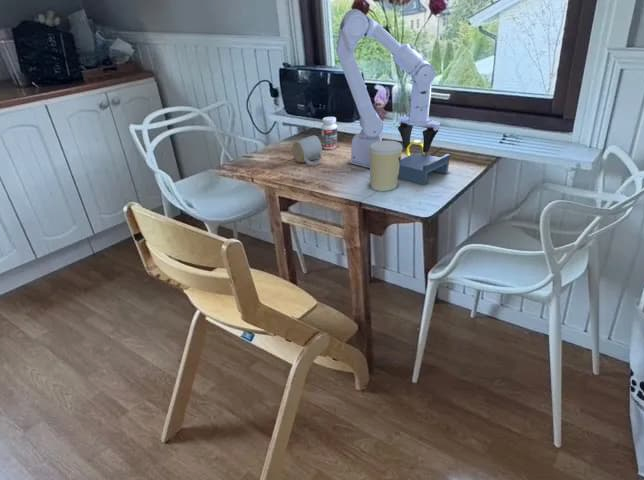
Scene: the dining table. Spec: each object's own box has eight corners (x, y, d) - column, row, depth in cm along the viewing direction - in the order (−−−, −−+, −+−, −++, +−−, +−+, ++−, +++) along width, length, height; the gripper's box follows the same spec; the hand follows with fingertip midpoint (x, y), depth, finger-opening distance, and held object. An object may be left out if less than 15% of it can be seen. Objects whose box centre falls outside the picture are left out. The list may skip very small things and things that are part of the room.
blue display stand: (391, 175, 161) (392, 158, 158) (415, 164, 167) (416, 147, 163) (424, 184, 153) (426, 166, 150) (447, 172, 159) (450, 154, 156)
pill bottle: (326, 150, 186) (325, 121, 180) (318, 146, 190) (318, 118, 184) (340, 147, 187) (340, 118, 181) (332, 143, 191) (332, 115, 185)
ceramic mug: (291, 160, 181) (290, 138, 176) (311, 154, 183) (310, 132, 178) (307, 168, 173) (307, 145, 168) (327, 163, 176) (327, 140, 171)
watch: (404, 159, 171) (406, 141, 168) (408, 156, 173) (410, 138, 169) (421, 162, 168) (423, 143, 164) (425, 159, 169) (427, 140, 166)
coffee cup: (405, 187, 153) (408, 146, 145) (376, 194, 151) (378, 152, 144) (390, 177, 160) (392, 138, 152) (362, 183, 158) (363, 143, 151)
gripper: (448, 105, 157) (442, 150, 166) (408, 99, 167) (405, 142, 175) (434, 110, 154) (429, 156, 162) (394, 104, 163) (392, 148, 172)
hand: (416, 149), depth 168 cm, fingers open, 7 cm apart
